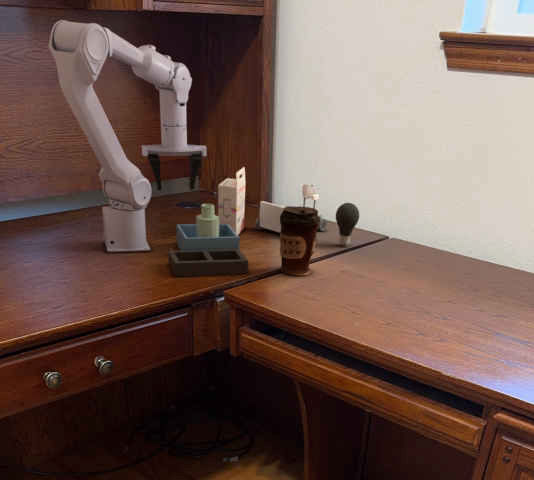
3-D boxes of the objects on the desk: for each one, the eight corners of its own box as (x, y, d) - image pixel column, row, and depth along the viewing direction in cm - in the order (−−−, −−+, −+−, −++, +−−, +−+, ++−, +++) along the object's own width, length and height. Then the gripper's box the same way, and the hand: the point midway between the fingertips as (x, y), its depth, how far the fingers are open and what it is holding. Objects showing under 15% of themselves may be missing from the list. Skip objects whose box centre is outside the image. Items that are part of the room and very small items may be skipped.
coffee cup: (301, 281, 140) (307, 216, 133) (268, 272, 143) (271, 209, 136) (321, 270, 146) (327, 208, 139) (288, 262, 150) (293, 201, 142)
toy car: (301, 180, 175) (336, 188, 169) (298, 219, 181) (332, 228, 175) (255, 189, 164) (292, 198, 158) (254, 230, 169) (288, 240, 164)
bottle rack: (175, 276, 138) (174, 263, 136) (168, 263, 144) (168, 250, 143) (247, 273, 142) (248, 260, 140) (238, 261, 148) (238, 248, 147)
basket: (185, 259, 148) (185, 238, 145) (176, 244, 156) (176, 224, 154) (238, 257, 151) (239, 237, 148) (227, 242, 159) (228, 223, 157)
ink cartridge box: (225, 226, 171) (226, 164, 162) (244, 228, 170) (246, 166, 162) (216, 235, 164) (217, 170, 156) (236, 237, 163) (238, 173, 155)
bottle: (199, 252, 151) (198, 208, 145) (194, 245, 155) (194, 202, 149) (220, 251, 152) (221, 207, 146) (216, 245, 156) (216, 202, 150)
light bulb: (358, 245, 164) (364, 202, 158) (350, 250, 160) (356, 207, 154) (336, 241, 166) (341, 198, 160) (329, 246, 161) (333, 203, 156)
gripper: (202, 122, 154) (202, 184, 162) (138, 121, 150) (142, 185, 158) (208, 127, 148) (208, 191, 156) (142, 126, 145) (146, 192, 153)
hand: (175, 189), depth 157 cm, fingers open, 7 cm apart
